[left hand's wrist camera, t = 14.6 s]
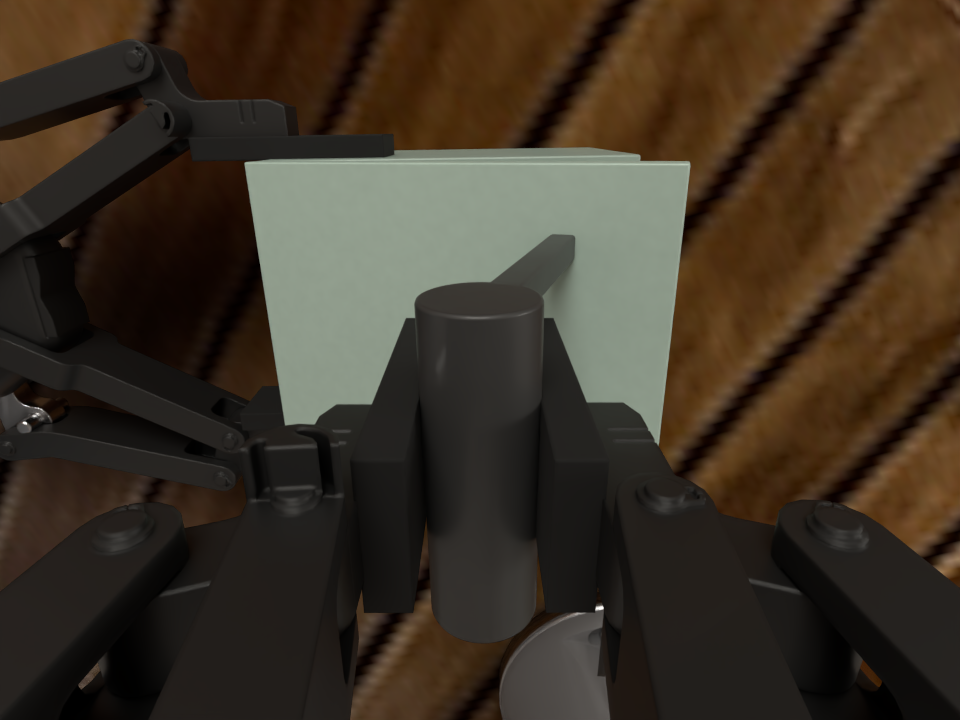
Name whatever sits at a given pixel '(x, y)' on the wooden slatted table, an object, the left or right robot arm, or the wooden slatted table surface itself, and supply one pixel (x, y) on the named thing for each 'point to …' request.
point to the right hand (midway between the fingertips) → (398, 285)
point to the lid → (471, 326)
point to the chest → (496, 155)
